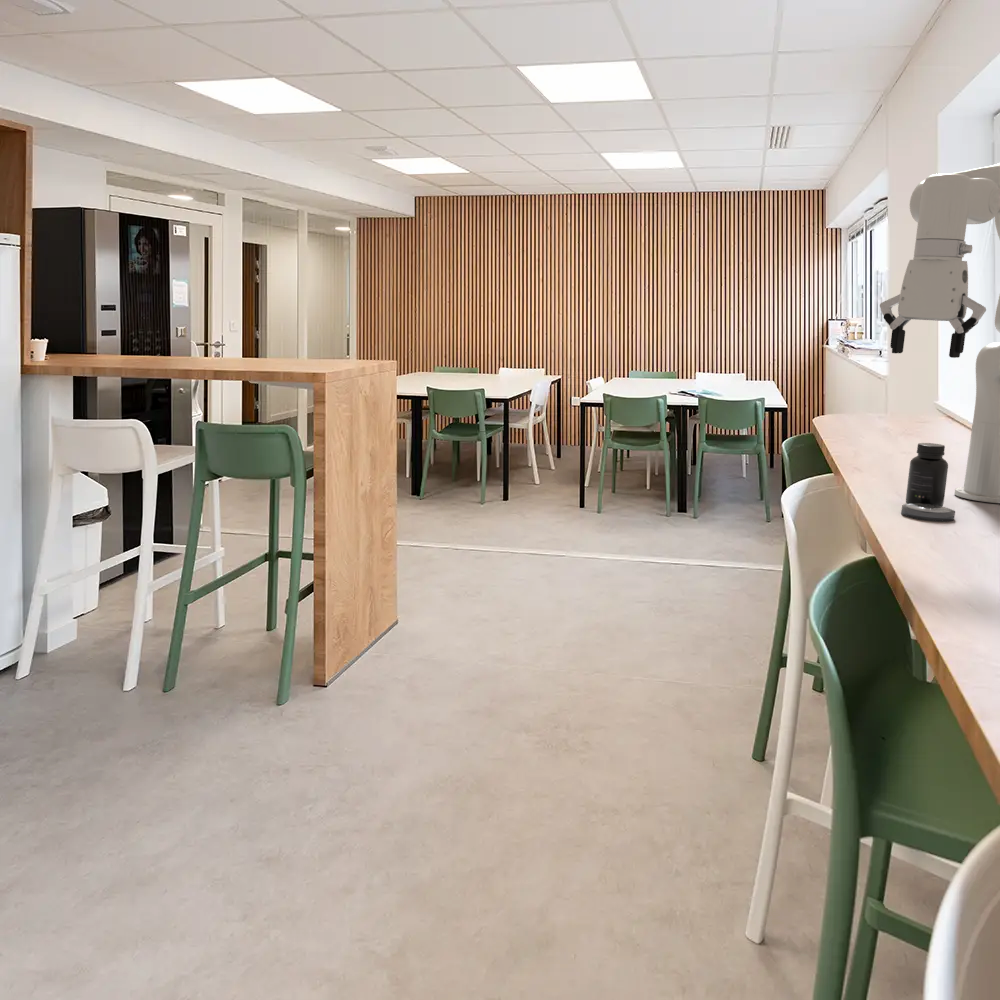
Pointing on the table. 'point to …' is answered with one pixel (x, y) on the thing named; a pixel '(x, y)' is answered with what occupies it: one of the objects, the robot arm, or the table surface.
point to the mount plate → (928, 512)
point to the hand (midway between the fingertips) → (925, 355)
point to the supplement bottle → (927, 475)
